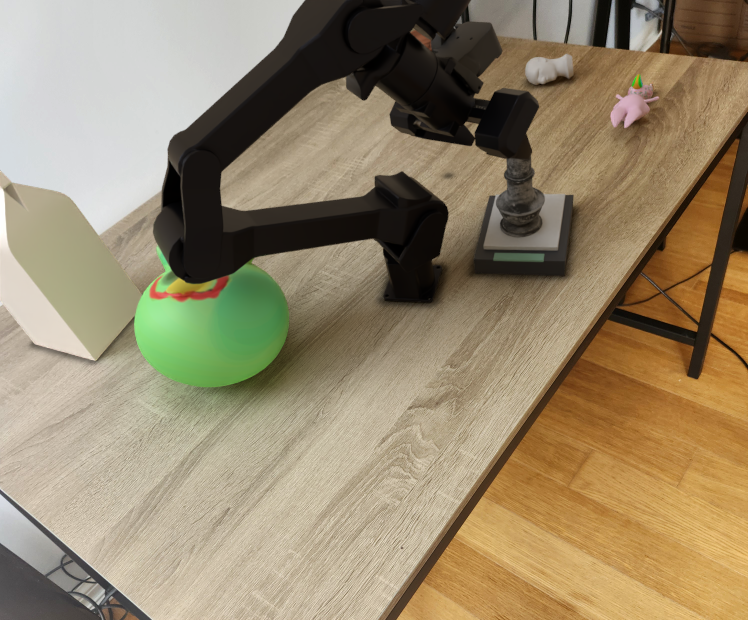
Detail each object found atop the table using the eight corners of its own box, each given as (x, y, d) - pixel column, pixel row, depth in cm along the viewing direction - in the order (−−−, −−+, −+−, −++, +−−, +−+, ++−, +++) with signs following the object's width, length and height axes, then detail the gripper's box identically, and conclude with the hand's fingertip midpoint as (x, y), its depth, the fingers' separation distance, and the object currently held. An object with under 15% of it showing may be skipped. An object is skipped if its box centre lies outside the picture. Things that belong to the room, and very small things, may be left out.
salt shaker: (524, 203, 84) (521, 118, 75) (554, 223, 81) (556, 136, 72) (488, 224, 83) (481, 139, 74) (517, 245, 80) (514, 159, 71)
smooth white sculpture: (523, 93, 110) (529, 70, 111) (571, 92, 107) (577, 68, 108) (519, 73, 106) (526, 49, 108) (569, 72, 103) (576, 47, 104)
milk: (147, 301, 92) (40, 135, 73) (95, 361, 86) (-36, 198, 67) (87, 288, 97) (-28, 130, 78) (34, 344, 91) (-105, 187, 72)
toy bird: (148, 411, 78) (83, 328, 67) (191, 311, 89) (140, 225, 78) (288, 409, 74) (243, 320, 63) (315, 305, 84) (281, 213, 73)
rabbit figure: (621, 99, 103) (596, 137, 94) (626, 60, 99) (600, 95, 90) (663, 102, 100) (641, 141, 91) (670, 61, 96) (648, 97, 87)
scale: (564, 276, 79) (565, 257, 77) (474, 274, 82) (472, 255, 80) (573, 209, 86) (573, 190, 84) (490, 209, 90) (489, 191, 88)
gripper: (522, 0, 57) (599, 91, 68) (393, -1, 70) (475, 75, 81) (464, 120, 59) (549, 190, 70) (349, 96, 72) (435, 158, 83)
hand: (499, 148), depth 76 cm, fingers open, 9 cm apart
